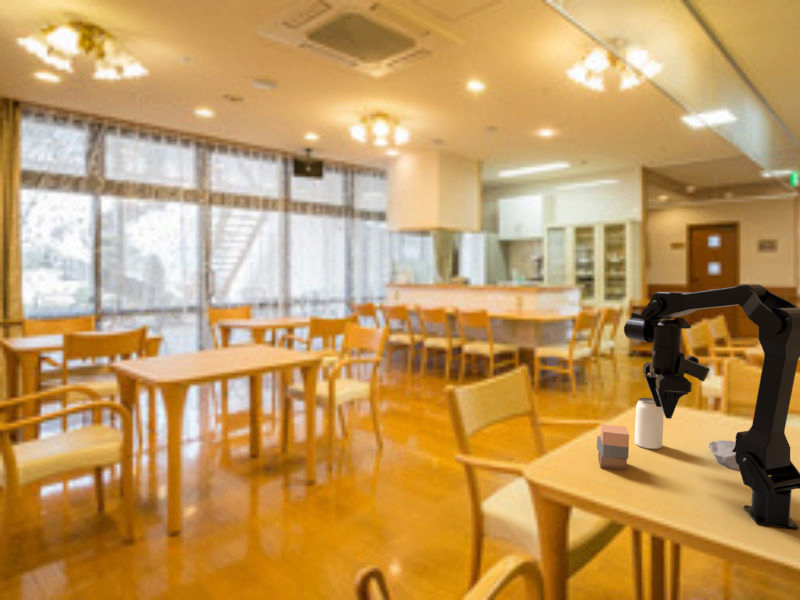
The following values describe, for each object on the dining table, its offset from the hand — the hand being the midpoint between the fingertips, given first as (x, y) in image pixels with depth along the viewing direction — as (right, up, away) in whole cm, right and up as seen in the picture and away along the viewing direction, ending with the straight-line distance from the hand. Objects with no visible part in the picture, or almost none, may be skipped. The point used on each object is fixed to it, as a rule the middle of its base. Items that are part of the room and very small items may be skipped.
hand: (663, 412), depth 112 cm
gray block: (-11, -10, +2) cm, 15 cm away
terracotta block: (-11, -7, +1) cm, 13 cm away
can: (+4, -12, +14) cm, 19 cm away
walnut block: (-11, -13, +2) cm, 17 cm away
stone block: (+20, -13, +5) cm, 24 cm away
